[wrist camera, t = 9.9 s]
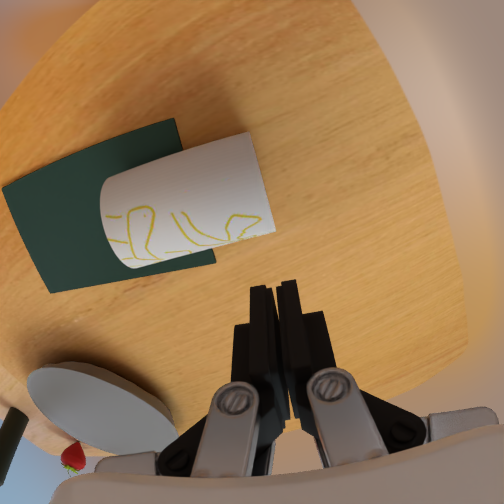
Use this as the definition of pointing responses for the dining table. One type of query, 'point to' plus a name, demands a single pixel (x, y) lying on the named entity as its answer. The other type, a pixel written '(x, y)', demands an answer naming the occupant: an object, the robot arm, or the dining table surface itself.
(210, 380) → the dining table surface
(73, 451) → the strawberry
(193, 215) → the cup
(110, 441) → the flat disc
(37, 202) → the mat
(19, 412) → the wine bottle
